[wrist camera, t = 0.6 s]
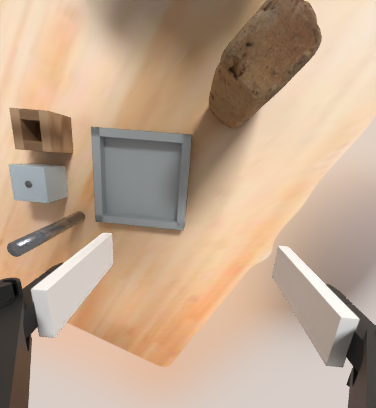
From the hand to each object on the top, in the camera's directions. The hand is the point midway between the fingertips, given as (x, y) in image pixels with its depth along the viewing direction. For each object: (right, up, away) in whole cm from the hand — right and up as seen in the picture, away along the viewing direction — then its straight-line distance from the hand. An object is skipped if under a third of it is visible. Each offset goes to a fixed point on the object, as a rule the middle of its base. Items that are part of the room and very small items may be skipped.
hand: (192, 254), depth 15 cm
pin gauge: (-26, +1, +29) cm, 39 cm away
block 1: (-31, +9, +27) cm, 42 cm away
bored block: (-28, +19, +25) cm, 42 cm away
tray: (-10, +9, +26) cm, 29 cm away
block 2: (+9, +24, +21) cm, 33 cm away
